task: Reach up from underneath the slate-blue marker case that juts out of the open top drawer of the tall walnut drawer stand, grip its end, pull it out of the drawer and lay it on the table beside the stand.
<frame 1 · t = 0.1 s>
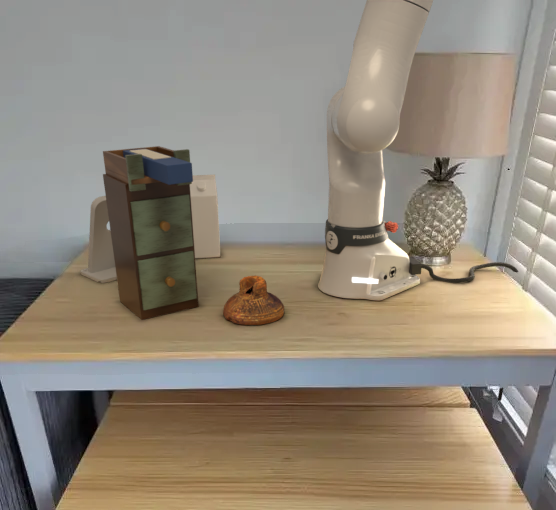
phone holder: (123, 270, 142), on the table
bell: (253, 315, 118), on the table
drawer stand: (160, 305, 122), on the table
marker case: (157, 174, 106), point 26 cm above the table, touching drawer stand
milk carton: (204, 254, 152), on the table
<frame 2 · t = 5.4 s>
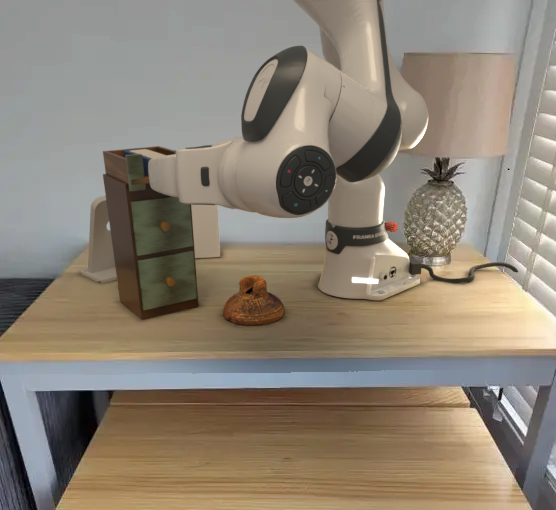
hand: (205, 169, 88), 30 cm above the table, tool horizontal, fingers open, 8 cm apart
nothing on the table moved.
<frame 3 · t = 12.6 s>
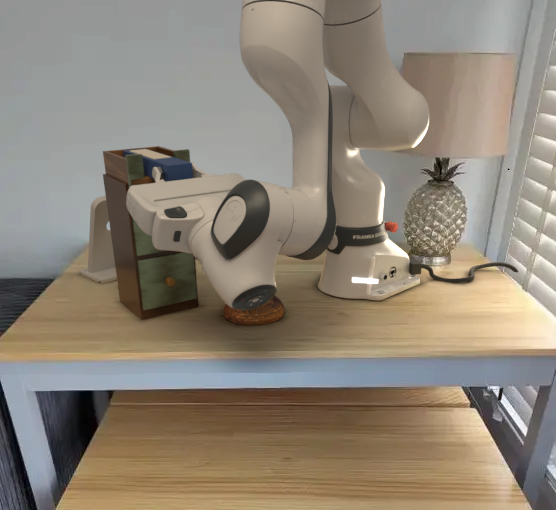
hand: (172, 168, 101), 28 cm above the table, tool pointing upward, fingers closed on marker case, 4 cm apart
marker case: (157, 174, 106), point 26 cm above the table, touching drawer stand, gripper
everything else where it was.
when the fingers open (10 cm above the table, at t = 27.5 s): marker case drops 5 cm, on the table.
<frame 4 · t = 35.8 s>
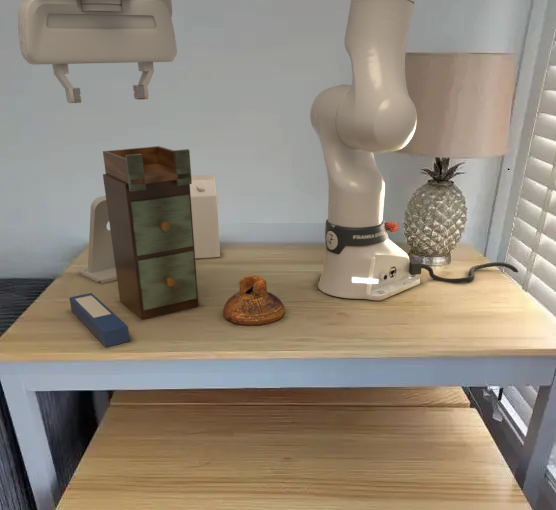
hand: (108, 101, 84), 39 cm above the table, tool pointing down, fingers open, 8 cm apart
marker case: (99, 325, 113), on the table
everything else where it was.
at the end: marker case inside the target area (1.3 cm from its centre), on the table; marker case touching table; the gripper is holding nothing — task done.
